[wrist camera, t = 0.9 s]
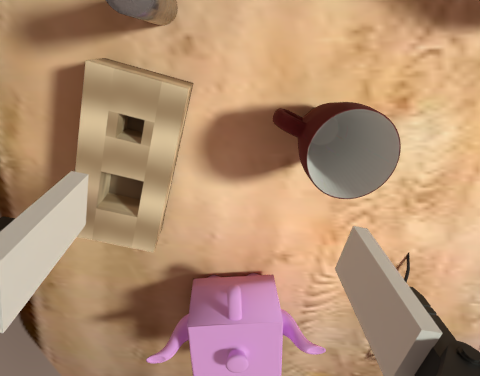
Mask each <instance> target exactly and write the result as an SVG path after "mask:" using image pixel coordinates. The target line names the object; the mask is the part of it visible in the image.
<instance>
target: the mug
mask: <svg viewBox="0 0 480 376" xmlns="http://www.w3.org/2000/svg"><path fill="white" fill-rule="evenodd" d="M273 122H274V124H275V125H277V126H278V127H279V128H281V129H282V130H284V131H286V132H288V133H290V134H292V135H294V136H296V137H298V149H299V156H300V160H301V164H302V166H303V168H304V170H305V172H306V174H307V175H308V177H309V178H310V180H311V181H312V182H313V184H314V185H315V186H316V187H317V188H318V189H319V190H320V191H322V192H323V193H325V194H327V195H329V196H331V197H334V198H339V199H353V198H358V197H362V196H365V195H367V194H369V193H371V192H373V191H375V190H376V189H378V188H379V187H380V186H382V185H383V184H384V183H385V182H386V181H387V180H388V178H389V177H390V176H391V174H392V173H393V171H394V170H395V168H396V165H397V163H398V160H399V156H400V147H401V146H400V138H399V134H398V131H397V129H396V127H395V126H394V124H393V123H392V122H391V121H390V119H389V118H387V117H386V116H385V115H383V114H382V113H380V112H378V111H376V110H374V109H372V108H370V107H368V106H365V105H362V104H358V103H352V102H338V103H326V104H322V105H320V106H317V107H316V108H314V109H312V110H311V111H310V112H309V113H307V114H306V115H305V116H304V117H300V116H298V115H296V114H294V113H292V112H290V111H288V110H286V109H282V108H280V109H278V110H277V111H276V112H275V113H274V116H273Z"/></svg>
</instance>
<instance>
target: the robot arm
mask: <svg viewBox="0 0 480 376" xmlns="http://www.w3.org/2000/svg"><path fill="white" fill-rule="evenodd" d="M87 193H88V174H84V173H79V172H74V171H71V172H70V173H68V174H67V175H66V176H65V177H64V178H62V179H61V180H60V181H59V182H58V183H57V184H55V185H54V186H53V187H52V188H51V189H50V190H48V191H47V192H46V193H45V194H44V195H43V196H41V197H40V198H39V199H38V200H37V201H36V202H34V203H33V204H32V205H31V206H30V207H29V208H27V209H26V210H25V211H24V212H23V213H21V214H20V215H19V216H18V217H17V218H16V219H15V218H9V217H1V218H0V333H4V332H5V330H6V329H7V328H8V326H9V325H10V324H11V322H12V321H13V320H14V319H15V317H16V316H17V315H18V313H19V312H20V311H21V309H22V308H23V307H24V305H25V304H26V303H27V301H28V300H29V299H30V298H31V296H32V295H33V294H34V292H35V291H36V290H37V288H38V287H39V286H40V284H41V283H42V282H43V280H44V279H45V278H46V276H47V275H48V274H49V273H50V271H51V270H52V269H53V267H54V266H55V265H56V263H57V262H58V261H59V259H60V258H61V257H62V255H63V254H64V253H65V251H66V250H67V249H68V248H69V246H70V245H71V244H72V242H73V241H74V240H75V238H76V237H77V236H78V234H79V233H80V232H81V230H82V229H83V228H84V226H85V225H86V211H87ZM335 270H336V272H337V275H338V277H339V279H340V281H341V283H342V286H343V288H344V290H345V292H346V294H347V296H348V299H349V301H350V303H351V305H352V307H353V310H354V312H355V314H356V316H357V318H358V321H359V323H360V325H361V327H362V329H363V331H364V334H365V336H366V338H367V340H368V342H369V345H370V347H371V349H372V351H373V353H374V356H375V358H376V360H377V362H378V364H379V366H380V369H381V371H382V373H383V375H384V376H480V352H479V351H477V350H476V349H474V348H473V347H471V346H470V345H468V344H466V343H463V342H460V341H457V340H456V339H455V338H454V336H453V335H452V334H451V332H450V331H449V330H448V328H447V327H446V326H445V324H444V323H443V322H442V320H441V319H440V318H439V316H437V315H436V312H435V311H434V310H433V308H431V307H430V304H429V303H428V302H427V300H426V299H425V298H424V296H422V295H421V294H420V293H419V292H418V291H417V290H415V289H414V288H413V287H409V286H408V284H407V283H406V282H405V280H404V279H403V278H402V276H401V275H400V273H399V272H398V271H397V269H396V268H395V266H394V265H393V264H392V262H391V261H390V260H389V258H388V257H387V255H386V254H385V253H384V251H383V250H382V248H381V247H380V246H379V244H378V243H377V241H376V240H375V239H374V237H373V236H372V235H371V233H370V232H369V230H368V229H367V228H361V227H356V226H353V228H352V230H351V232H350V235H349V237H348V239H347V242H346V244H345V246H344V249H343V251H342V253H341V256H340V258H339V260H338V263H337V265H336V267H335Z"/></svg>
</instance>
